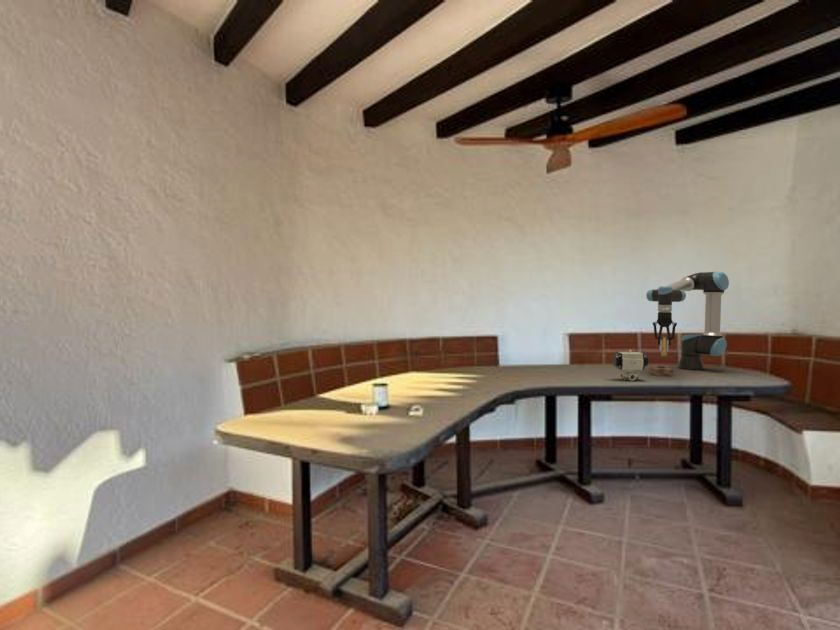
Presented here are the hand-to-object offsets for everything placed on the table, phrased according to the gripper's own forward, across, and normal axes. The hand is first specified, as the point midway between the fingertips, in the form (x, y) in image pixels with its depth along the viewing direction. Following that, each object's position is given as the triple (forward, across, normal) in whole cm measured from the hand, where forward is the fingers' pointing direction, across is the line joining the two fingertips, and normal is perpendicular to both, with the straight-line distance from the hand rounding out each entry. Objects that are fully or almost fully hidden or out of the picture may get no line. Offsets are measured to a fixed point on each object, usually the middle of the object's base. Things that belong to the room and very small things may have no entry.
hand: (663, 350), depth 290 cm
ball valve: (+16, -19, -17) cm, 31 cm away
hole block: (+16, 0, +14) cm, 21 cm away
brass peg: (+4, 0, 0) cm, 4 cm away
